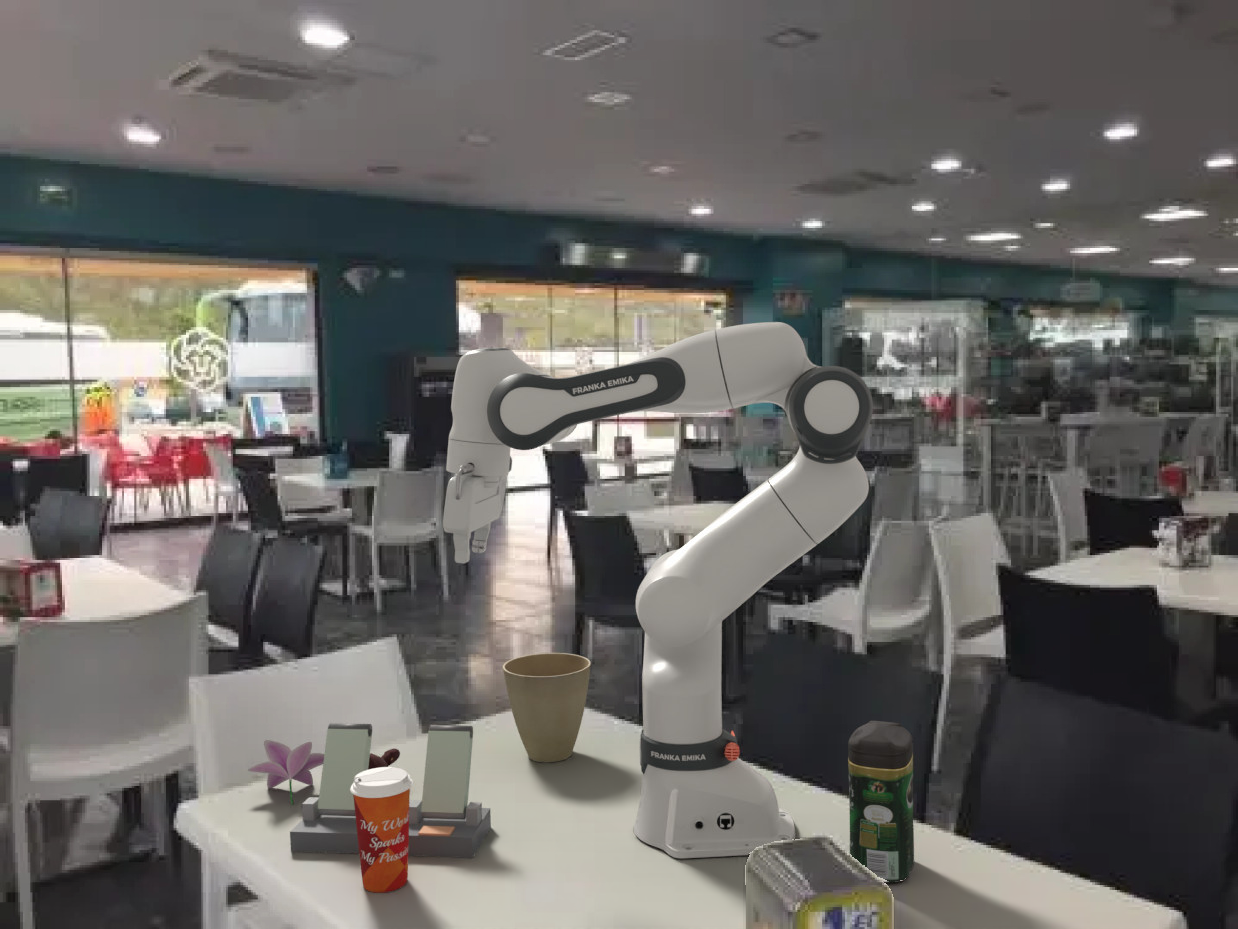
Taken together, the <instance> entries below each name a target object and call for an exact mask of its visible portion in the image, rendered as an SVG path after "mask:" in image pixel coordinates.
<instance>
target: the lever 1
mask: <svg viewBox="0 0 1238 929" xmlns="http://www.w3.org/2000/svg"><path fill="white" fill-rule="evenodd" d="M326 732H327V733H326V739H325V746H324V748H325V749H324V753H323V754H324V762H323V764H322V772H321V778H320V779H321V780H320V788H319V795H318V796H319V797H318V798H319V801H318V814H319V815H331V816H355V806H354V796H353V794H352V793H351V791H350V788H351V786H352V784H353V781H354V778H355V776H356V775H357V774H359V773H361V772H363V771H366V770H368V766H369V757H370V754H371V747H372V739H373V725H372V724H371V723H343V722H342V723H339V722H338V723H337V722H333V723H332V722H330V723H328V726H327V731H326Z"/></svg>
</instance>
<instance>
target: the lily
mask: <svg viewBox="0 0 1238 929" xmlns="http://www.w3.org/2000/svg"><path fill="white" fill-rule="evenodd" d="M312 743H313V742H312V741H308V742H305V743H303V744H300V745H298V746H296V747H295V748H294V749H292V748H291V747H290V746H288V745H286V744H285V743H281V742H278V741H274V740H269V739H268V740H267V739H265V740H263V746H264V749H265V754H266V757H267V760H268V761H264V762H262V763H259V764H258V763H257V764H256V765H254V766H252V767H249V768H248V769H247V771H248V772H253V773H260V774H267V780H266V787H267V789H273V788H275V787H278V786H279V785H281V784H282V783H284V782H286V781H288V782H289V784H288V786H289V797H290V798H289V799H290V805H293V804H294V801H293V800H294V798H293V789H292V780H294V781H297V782H300V783H303V784H305V785H308V786H313V785H314V779H313V774H312V772H311V771H310V770H312V769H314V768H317V767H319V766H323V762H324V754H325V753H320V752H317V753H316V752H314V753H313V752H312V747H313V744H312Z"/></svg>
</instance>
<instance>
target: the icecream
mask: <svg viewBox="0 0 1238 929" xmlns="http://www.w3.org/2000/svg"><path fill="white" fill-rule="evenodd" d="M400 755H401V751H400V750H399V749H398V748H390V749H388V750H386V751H384V754H382V755H381V756H378V755H377V754H374V753H371V752H370V757H369V766H368V770H369V769H373V768H380V767H390V766H391V765H393V764H394V763H395V762H397V760H398V759H399V758H400Z"/></svg>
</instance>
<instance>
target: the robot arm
mask: <svg viewBox="0 0 1238 929" xmlns="http://www.w3.org/2000/svg"><path fill="white" fill-rule="evenodd" d="M458 360H459V361H457V362H458V363H457V366H456V370H455V374H454V381H453V384H452V385H453V387H452V395H451V405H450V411H451V413H452V414H451V415H452V426H451V429H450V431H449V434H448V443H447V444H448V445H447V457H446V466H445V467H446V468H445V470H446V471H447V472H449V473H450V474H454V476H452V477H451V478H450V479H449V480H448V484H447V487H446V493H445V494H446V495H445V502H444V510H443V517H442V525H443V526H442V527H443V530H444V531H443V532H445V533H449V534H453V535H452V536H453V538H452V539H453V544H454V550H455V551H454V562H455V563H457V564H466V563H468V562H469V561H470V557H471V556H470V555H471V551H472V552H473V553H475V554H482V553H484V552H486V550H487V541H488V538H489V534H490V532H491V525H492V523H493V522H495V521H496V520H498V519H500V517H501V514H502V511H503V506H504V501H505V494H506V489H507V481H508V475H509V473H510V472H511V471H512V468H513V467H512V466H513V458H512V456H511V449H513V450H516V451H518V450H519V451H530V450H534V449H536V448H539V447H541V446H545V445H551V444H554V443H557V442H560V441H562V440H565V438H567V437H569V435H571V434H572V433H573V432H574V431H575V429H576V428H577V427H578V425H581V424H585V423H589V422H592V421H597V420H602V419H607V418H610V417H616V416H620V415H625V414H630V413H640V412H656V413H657V412H658V413H659V412H660V413H670V414H681V415H682V414H686V415H687V414H708V413H717V412H721V411H722V412H723V411H728V410H733V409H736V408H737V409H738V408H741V407H744V406H749V405H754V404H764V403H767V404H769V403H770V404H775V405H778V406H779V407H780V408H782V411H783V412H784V414H785V416H786V417H787V420H788V423H789V426H790V428H791V429H792V430H791V431H793V433H794V434H795V436H796V438H797V441H798V444H799V449H798V450H797V453H796V454H795V456H794V457H793V458H792V459H791V460H790V461H789V462H788V464H786V465H785V466H784V467H783V468H781V469H780V470H779V471H778V472H776V473H775V474H773V475H772V476H771V477H770V478H768V479H767V480H765V481H764V482H763V483H761V484H760V485H759V486H757V487H756V488H755V489H753V490H752V491H750V492H749V493H748V494H747V495H745V496H744V497H742V498H741V499H739V501H737V502H736V503H735V504H733V506H731V507H729V508H728V509H726V511H724V512H723V513H722V514H721V515H719V516H718V517H717V518H716V519H715V520H713V521H712V522H711V523H710V524H708V526H706V527H705V528H703V529H702V531H700V532H698V533H697V534H696V535H695V536H694V537H693V538H691V539H690V540H689V541H688V542H687V543H685V544H684V545H683V546H682V547H680V548H678V549H674V550H671V551H670V550H669V551H668V552H665V553H664V554H663V555H660V557H658V558H657V559H656V560H655V562H653V564H652V565H651V567H650V568H649V570H647V573H646V575H645V577H644V578H643V580H642V581H641V583H640V584H639V586H638V589H637V592H636V596H635V611H636V615H637V619H638V622H639V624H640V626H641V628H642V629H643V632H644V641H643V642H644V644H643V646H644V647H643V662H642V663H643V664H642V672H641V673H642V675H641V679H642V680H641V682H642V684H641V686H642V690H641V691H642V725H643V726H642V727H643V728H642V729H641V732H640V736H639V765H640V770H641V774H642V779H641V791H640V798H639V803H638V804H639V805H638V809H637V815H636V818H635V822H634V826H633V832H634V834H635V836H636V837H637V838H638V839H639V840H641V841H642V842H643V843H645V844H647V845H650V846H652V847H655V848H659V849H660V850H662V851H664V852H665V853H667V854H668V855H669V856H671V857H672V858H674V859H695V858H698V859H699V858H715V857H716V858H717V857H732V856H733V857H735V856H749V855H748V854H749V853H750V852H752V851H753V850H754V849H755V848H756V847H759V846H762V845H764V844H767V843H771V842H774V841H781V840H792V839H794V838H795V839H796V829H795V822H794V820H793V817H792V816H791V815H790V813H789V812H788V811H786V810H785V809H784V808H781V807H779V804H778V799H777V794H776V793H775V790H774V788H773V785H772V784H771V782H770V781H769V779H768V778H767V777H766V776H764V775H763V774H762V773H760V772H758V771H757V770H756V769H755V768H753V767H751V766H750V765H749V764H747V763H746V762H745V761H744V760H742V759H741V758H739V757H740V755H741V754H740V750H741V749H740V748H741V747H740V746H739V745H738V741H737V740H738V739H737V737H736V735H735V733H734V730H730V731H731V732H729V731H727V730H726V729H724V728H723V714H722V713H723V708H722V658H723V657H722V653H723V652H722V648H723V647H722V646H723V645H722V640H723V637H722V636H723V632H722V631H723V629H722V627H723V621H724V620H725V619H727V617H728V616H730V615H731V614H732V613H734V612H735V611H736V610H737V609H738V608H739V607H741V606H742V604H744V603H745V602H746V601H748V599H750V598H751V597H752V596H754V595H755V593H756V592H757V591H759V590H760V589H762V587H763V586H764V585H765V584H767V583H768V582H769V581H771V580H772V579H773V578H775V576H776V575H777V576H778V574H780V573H781V572H782V571H783V570H785V569H786V568H787V567H789V566H790V565H791V564H793V563H795V561H797V560H798V559H800V558H801V557H803V555H805V554H806V553H808V552H809V551H811V550H812V549H813V548H815V547H816V546H817V545H818V544H821V542H822V541H824V540H825V539H827V538H828V537H829V536H830V535H831V534H833V533H834V532H836V530H837V529H839V528H840V527H841V526H842V525H843V524H844V523H845V522H846V521H847V520H848V519H849V518H850V517H851V516H852V515H853V514H854V513H855V512H856V511H857V510H858V509H859V507H861V506H862V504H863V503H864V502H865V500H866V499H867V497H868V494H869V489H870V488H869V487H870V486H869V480H868V477H867V476H868V475H867V472H866V470H865V469H864V466H863V465H862V464H861V462H860V461H859V459H858V458H857V456H856V455H857V454H858V452H859V450H860V447H861V444H862V442H863V440H864V437H865V435H866V434H867V431H868V429H869V427H870V424H871V421H872V417H873V413H874V410H873V409H874V402H873V397H872V393H871V391H870V389H869V386H868V385H867V384H866V382H865V381H864V379H862V377H860V375H858V374H857V373H855V372H854V371H852V370H851V369H848V368H846V367H842V366H838V365H825V366H820V365H817V364H814V363H813V362H812V361H811V360H810V358H809V357H808V355H807V351H806V347H805V344H804V341H803V340H802V337H801V336H800V334H799V333H798V332H797V330H795V328H794V327H793V326H791V325H790V324H788V323H785V322H780V321H768V322H754V323H744V324H737V325H731V326H727V327H721V328H716V329H712V330H708V331H705V332H702V333H701V332H700V333H698V334H695V335H692V336H689V337H686V338H683V339H680V340H678V341H676V342H674V343H672V344H670V345H667V346H664V347H662V348H661V349H659V350H657V351H655V352H653V353H650V354H647V355H646V356H643V357H640V358H639V359H636V360H634V361H632V362H628V363H626V364H623V365H619V366H614V367H610V368H604V369H601V370H595V371H591V372H586V373H581V374H578V375H573V376H567V377H554V376H552V375H550V374H547V373H545V372H544V371H541V370H538V369H537V368H535V367H533V366H532V365H530V364H528V363H527V362H526V361H525V360H523V359H521V357H519V356H518V355H517V354H516V353H515V352H514V351H513V350H512V349H509V348H505V347H495V348H494V347H488V348H487V347H486V348H478V349H472V350H468V351H467V352H465V353H464V354H463V355H462V356H461V357H460V358H459V359H458ZM472 532H474V535H473V539H472V547H471V549H470V539H471V536H472Z"/></svg>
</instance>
